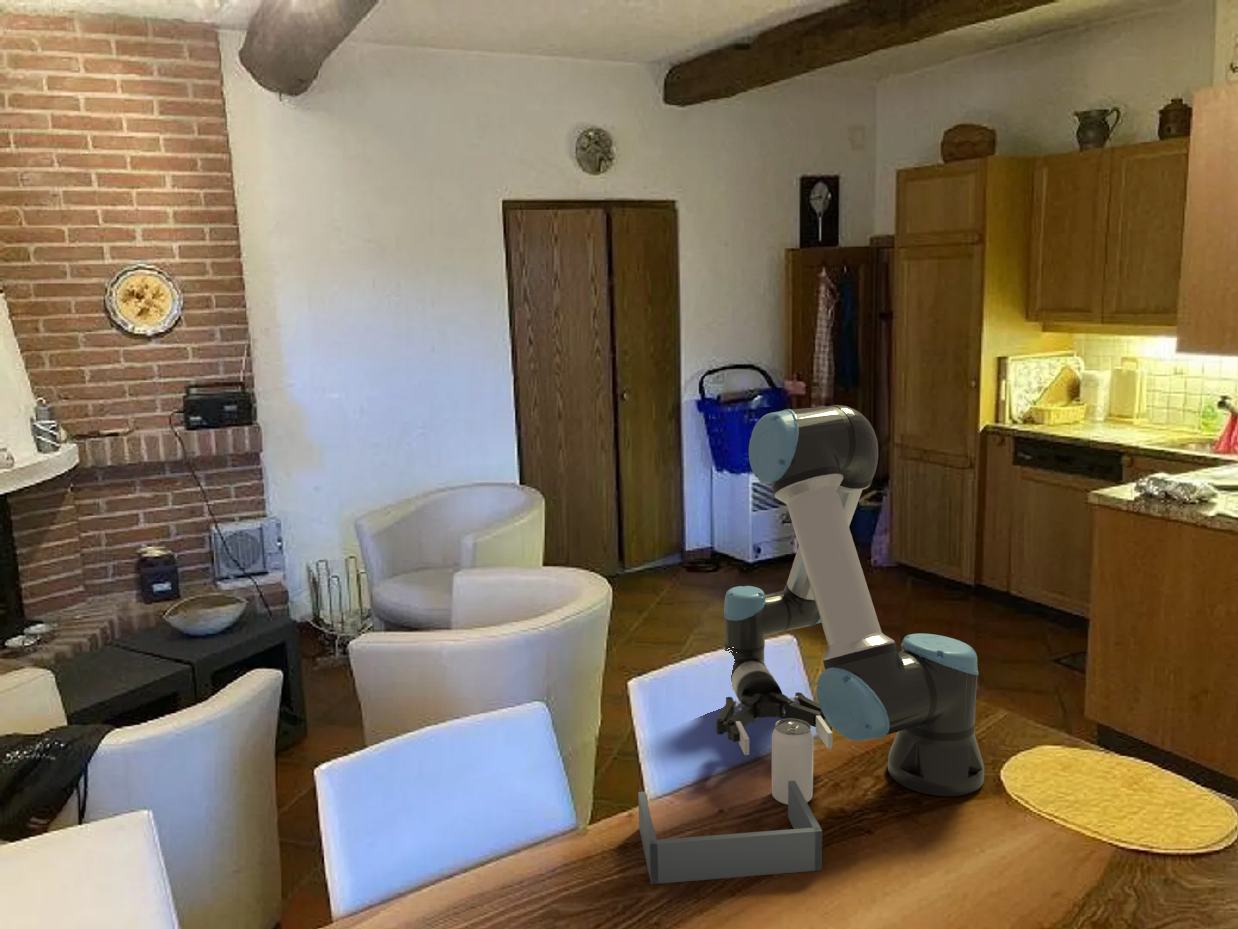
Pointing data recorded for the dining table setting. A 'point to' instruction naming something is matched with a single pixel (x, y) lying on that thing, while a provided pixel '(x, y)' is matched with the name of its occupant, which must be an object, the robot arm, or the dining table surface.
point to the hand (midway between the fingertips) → (788, 744)
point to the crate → (734, 848)
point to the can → (792, 758)
